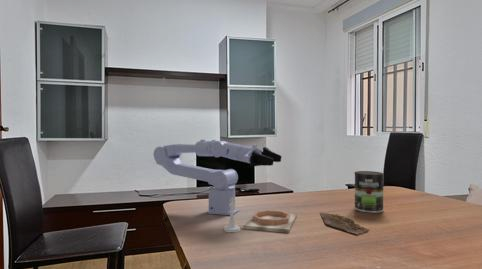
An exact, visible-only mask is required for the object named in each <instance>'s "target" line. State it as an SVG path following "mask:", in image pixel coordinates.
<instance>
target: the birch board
mask: <svg viewBox="0 0 482 269" xmlns="http://www.w3.org/2000/svg"><path fill="white" fill-rule="evenodd" d="M257 212H259V211H257ZM289 214H290V221H289V223H285V224H279V225H268V224H260V223H258V222H256V221H254V220H253V216H252V217H250V218H249V220H247V222H245V223H244V225H243V229H244V230H252V231H253V230H255V231H266V232H275V233H285V232H286V233H288V234H289V233H290V232H291V230H292V228H293V226H294V223H295V221H296V219H297V218H298V217H297V215H298V214H297V213H289ZM260 218H262V219H281V218H284V217H282V216H273V215H267V216H260ZM286 233H285V234H286Z"/></svg>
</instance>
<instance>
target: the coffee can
mask: <svg viewBox="0 0 482 269" xmlns="http://www.w3.org/2000/svg"><path fill="white" fill-rule="evenodd" d="M353 173H354V210H356V211H357V212H361V213H362V212H363V213H368V214H379V213H383V212H384V175H385V174H384V173H383V172H381V171H380V172H379V171H372V170H371V171H368V170H358V171H354V172H353Z"/></svg>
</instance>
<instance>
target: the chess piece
mask: <svg viewBox="0 0 482 269" xmlns="http://www.w3.org/2000/svg"><path fill="white" fill-rule="evenodd" d="M229 201H231V203H229V207H230V211H229V213H231V214H230V215H229V223H228V225H225V227H224V229H223V231H224V232H226V233H230V232H233V233H238V232H240V231H241V227H240V226H239V225H237V224H236V221H235V214H236V213H235V210H234V207H235V208H236V198H235V199H233V197H231V199H229ZM233 201H235V203H233ZM234 213H235V214H234Z"/></svg>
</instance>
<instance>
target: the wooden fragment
mask: <svg viewBox="0 0 482 269" xmlns="http://www.w3.org/2000/svg"><path fill="white" fill-rule="evenodd" d="M319 214H320V216H321V217H322V219H323V222H324V223H325V225H327V226H329V227H333V228H335V229H336V228H337V229H339V230H342V231H345V232H348V233H352V234H355V235H356V236H361V235H365V234H366V233H368V232H369V231H370V229H368V228H366V227H364V226H361V225H360V224H359V223H358V224H357V223H355V220H353V219H352V218H348V217H345V216H344V215H340V214H337V213H335V214H333V213H332V214H331V213H328V212H327V213H326V212H319Z"/></svg>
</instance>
